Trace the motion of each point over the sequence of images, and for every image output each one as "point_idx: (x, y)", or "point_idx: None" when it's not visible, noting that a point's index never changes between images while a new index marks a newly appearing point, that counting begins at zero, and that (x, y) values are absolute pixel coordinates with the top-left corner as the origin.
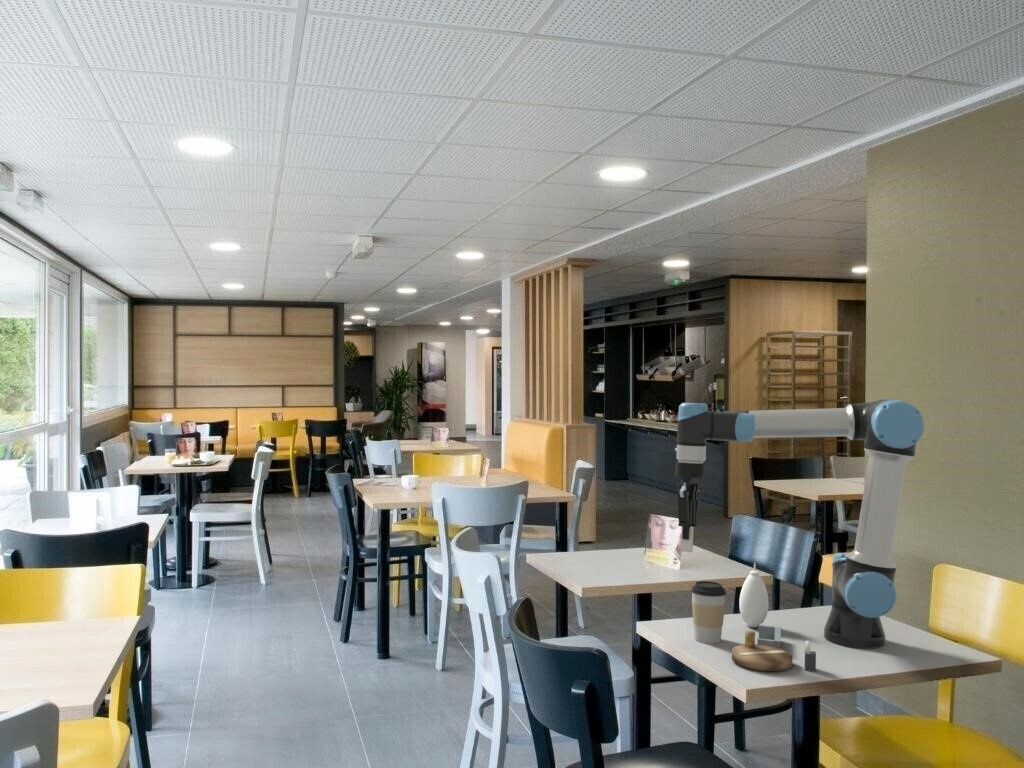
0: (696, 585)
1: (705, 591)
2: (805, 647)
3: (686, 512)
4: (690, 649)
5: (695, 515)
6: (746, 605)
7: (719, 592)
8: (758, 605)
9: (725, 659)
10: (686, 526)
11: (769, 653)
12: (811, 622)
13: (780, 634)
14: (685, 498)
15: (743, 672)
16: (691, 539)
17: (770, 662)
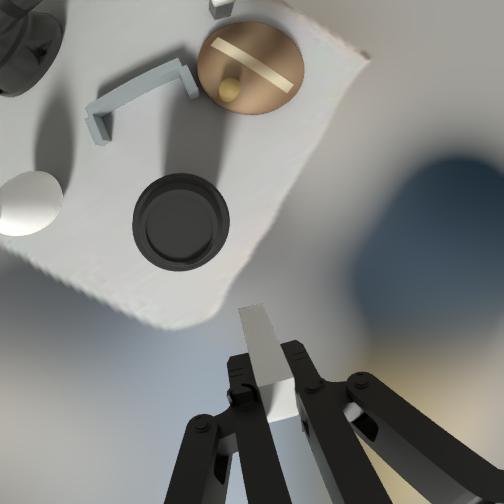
0: (211, 250)
1: (223, 210)
2: (217, 3)
3: (429, 421)
4: (266, 193)
5: (213, 456)
6: (52, 201)
7: (197, 179)
8: (43, 178)
9: (273, 121)
10: (334, 386)
11: (246, 53)
12: None
13: (131, 80)
14: (497, 474)
15: (312, 77)
16: (271, 336)
17: (290, 40)
